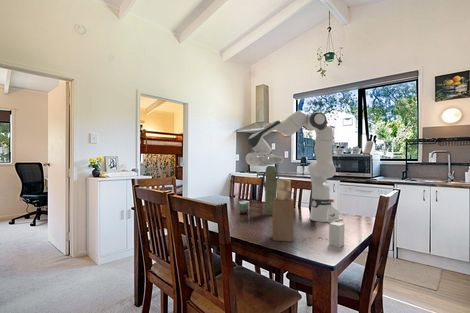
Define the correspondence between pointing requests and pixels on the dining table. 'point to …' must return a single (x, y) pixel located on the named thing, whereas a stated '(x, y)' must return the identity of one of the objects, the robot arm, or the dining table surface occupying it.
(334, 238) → the grey block
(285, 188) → the oak block
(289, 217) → the block
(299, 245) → the dining table surface
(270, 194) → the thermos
